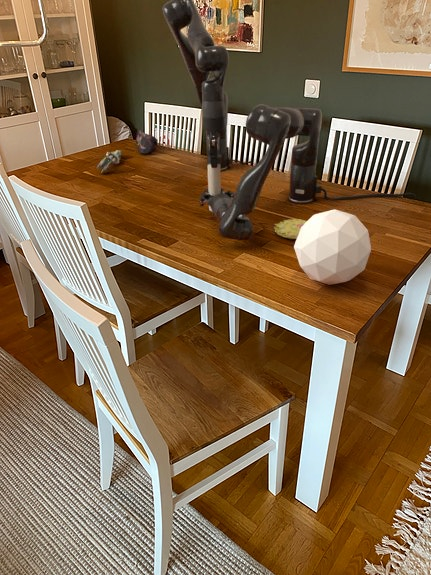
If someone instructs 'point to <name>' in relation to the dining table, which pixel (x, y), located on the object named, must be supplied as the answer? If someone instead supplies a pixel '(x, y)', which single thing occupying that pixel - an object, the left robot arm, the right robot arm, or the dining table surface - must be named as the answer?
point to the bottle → (214, 180)
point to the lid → (219, 159)
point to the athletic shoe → (146, 142)
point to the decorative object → (290, 228)
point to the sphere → (333, 247)
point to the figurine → (110, 160)
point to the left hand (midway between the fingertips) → (214, 164)
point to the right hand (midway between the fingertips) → (213, 191)
